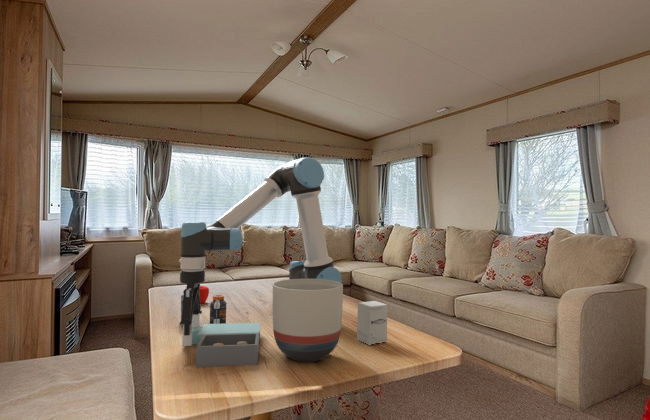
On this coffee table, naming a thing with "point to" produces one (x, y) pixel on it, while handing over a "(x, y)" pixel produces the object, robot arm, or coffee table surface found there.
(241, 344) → the dowel
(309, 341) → the planter
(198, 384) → the coffee table surface
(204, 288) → the apple
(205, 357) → the tub
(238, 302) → the coffee table surface
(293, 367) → the coffee table surface
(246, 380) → the coffee table surface
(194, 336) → the lid
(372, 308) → the supplement box
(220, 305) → the pill bottle
